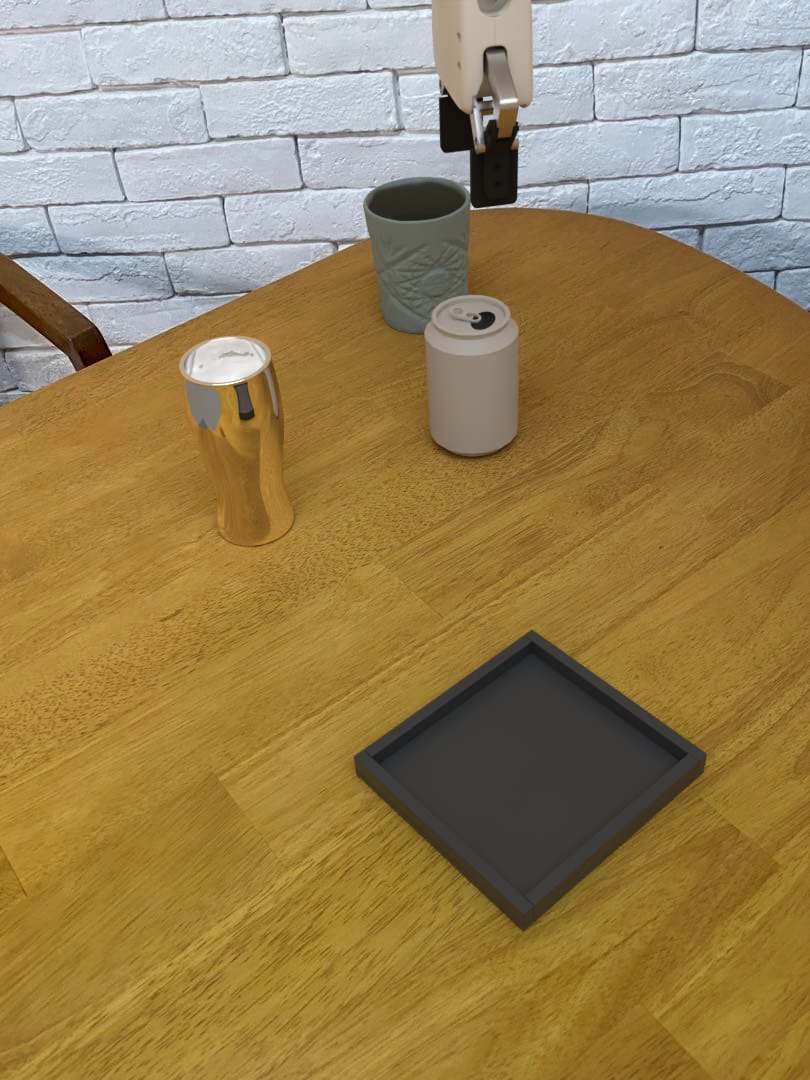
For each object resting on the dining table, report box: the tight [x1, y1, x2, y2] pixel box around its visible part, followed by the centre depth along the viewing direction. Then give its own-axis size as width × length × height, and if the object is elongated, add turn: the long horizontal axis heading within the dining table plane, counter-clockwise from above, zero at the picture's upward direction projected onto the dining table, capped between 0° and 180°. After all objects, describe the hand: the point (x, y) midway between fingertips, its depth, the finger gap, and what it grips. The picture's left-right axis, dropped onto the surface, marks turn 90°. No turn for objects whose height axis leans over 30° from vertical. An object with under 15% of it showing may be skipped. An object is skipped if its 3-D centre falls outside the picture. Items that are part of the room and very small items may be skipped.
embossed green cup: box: [362, 176, 471, 335], centre depth 109 cm, size 10×10×12 cm
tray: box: [353, 629, 708, 932], centre depth 69 cm, size 16×15×2 cm
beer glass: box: [178, 335, 295, 547], centre depth 85 cm, size 7×7×15 cm
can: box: [423, 294, 520, 458], centre depth 93 cm, size 8×8×12 cm
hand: (476, 175), depth 81 cm, fingers open, 9 cm apart
